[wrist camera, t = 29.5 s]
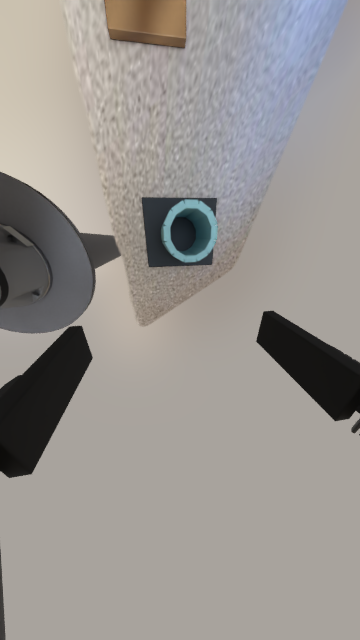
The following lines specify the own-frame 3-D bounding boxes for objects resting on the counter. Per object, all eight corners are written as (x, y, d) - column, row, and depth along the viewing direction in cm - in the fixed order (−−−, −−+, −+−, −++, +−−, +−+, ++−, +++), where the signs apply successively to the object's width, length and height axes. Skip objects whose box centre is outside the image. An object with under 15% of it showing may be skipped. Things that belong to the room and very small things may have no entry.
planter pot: (162, 256, 33) (165, 263, 24) (159, 210, 30) (161, 198, 21) (199, 255, 34) (215, 261, 25) (201, 211, 30) (220, 199, 22)
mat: (149, 266, 34) (148, 267, 34) (142, 198, 29) (141, 197, 28) (211, 264, 36) (212, 264, 35) (215, 199, 31) (217, 198, 30)
